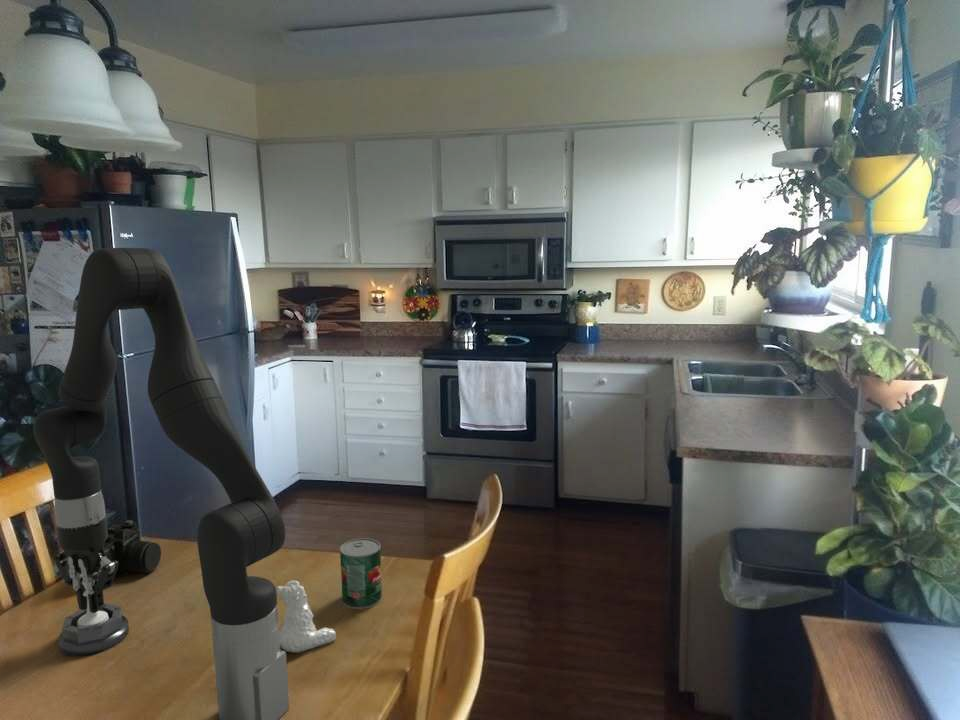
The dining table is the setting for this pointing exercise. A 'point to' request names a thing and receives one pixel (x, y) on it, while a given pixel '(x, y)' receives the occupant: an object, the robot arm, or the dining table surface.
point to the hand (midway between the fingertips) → (91, 608)
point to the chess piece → (91, 614)
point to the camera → (130, 549)
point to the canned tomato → (361, 573)
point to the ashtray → (93, 633)
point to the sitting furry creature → (300, 621)
